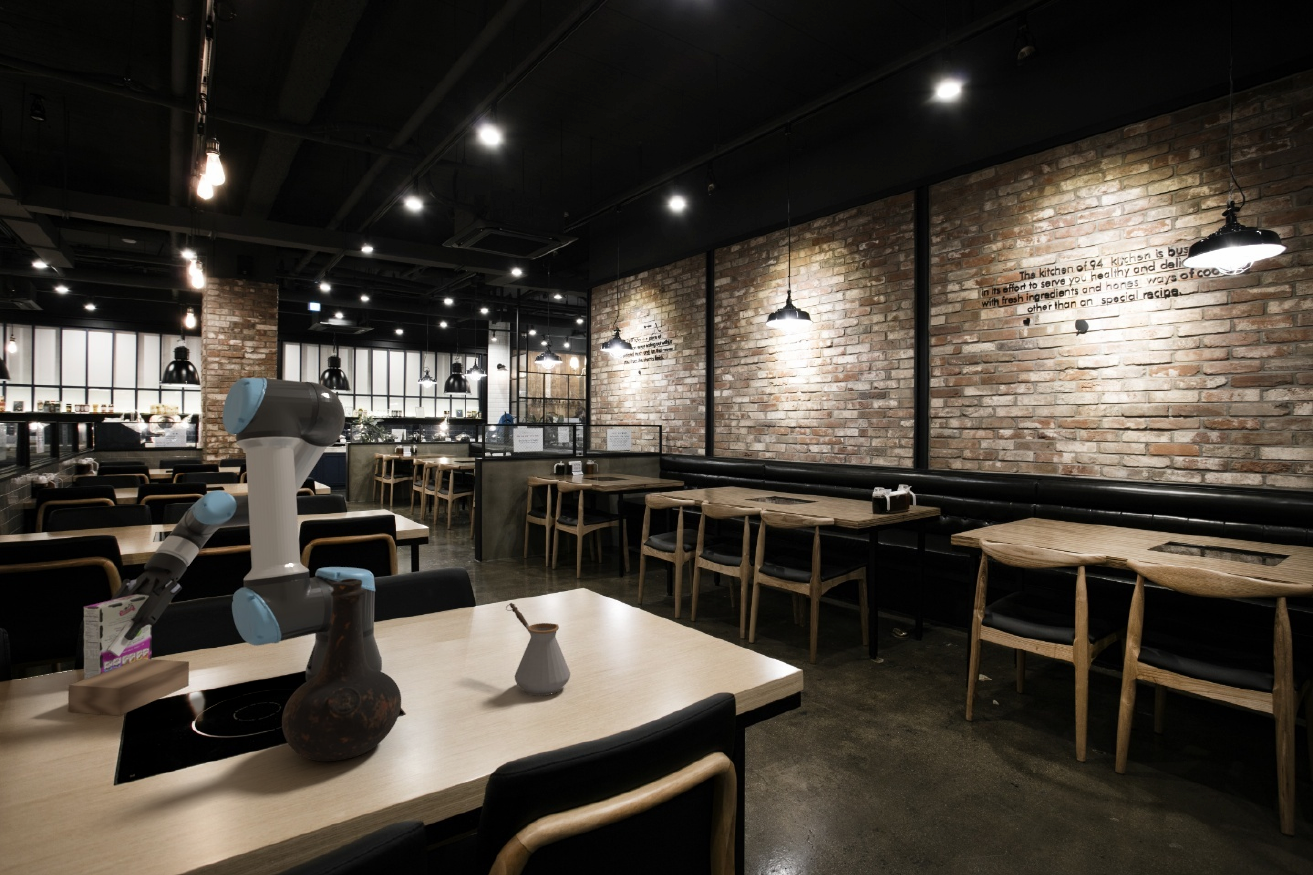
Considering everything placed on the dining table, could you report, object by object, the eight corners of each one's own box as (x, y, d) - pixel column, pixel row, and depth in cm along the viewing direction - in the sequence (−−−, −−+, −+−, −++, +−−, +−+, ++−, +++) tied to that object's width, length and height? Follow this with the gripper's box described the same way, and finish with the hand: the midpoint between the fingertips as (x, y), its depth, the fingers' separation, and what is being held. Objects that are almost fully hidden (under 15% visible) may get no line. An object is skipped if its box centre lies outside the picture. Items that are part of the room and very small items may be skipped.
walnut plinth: (188, 685, 135) (188, 661, 135) (119, 715, 120) (120, 688, 120) (142, 682, 136) (142, 658, 136) (68, 711, 121) (68, 684, 121)
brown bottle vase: (274, 785, 96) (276, 597, 96) (288, 735, 112) (291, 574, 113) (402, 763, 103) (405, 587, 103) (399, 718, 119) (401, 567, 120)
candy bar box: (133, 666, 146) (135, 593, 146) (152, 668, 145) (153, 594, 145) (80, 684, 135) (82, 605, 135) (100, 686, 134) (101, 607, 134)
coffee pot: (580, 690, 134) (581, 618, 134) (530, 704, 127) (531, 627, 127) (531, 662, 150) (532, 598, 151) (485, 673, 143) (486, 605, 143)
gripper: (214, 570, 154) (150, 663, 137) (147, 567, 156) (76, 658, 140) (196, 552, 149) (127, 645, 132) (127, 549, 151) (50, 641, 135)
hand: (101, 652), depth 136 cm, fingers closed on candy bar box, 5 cm apart
